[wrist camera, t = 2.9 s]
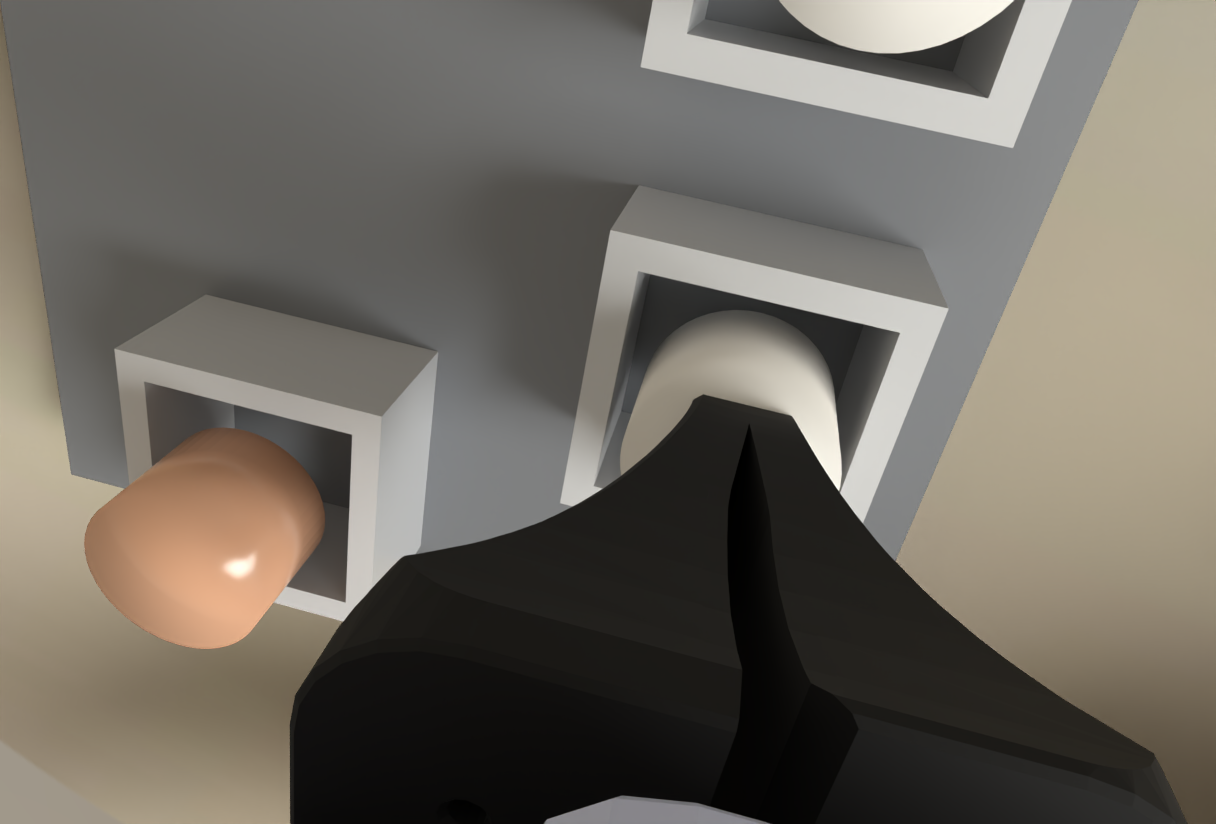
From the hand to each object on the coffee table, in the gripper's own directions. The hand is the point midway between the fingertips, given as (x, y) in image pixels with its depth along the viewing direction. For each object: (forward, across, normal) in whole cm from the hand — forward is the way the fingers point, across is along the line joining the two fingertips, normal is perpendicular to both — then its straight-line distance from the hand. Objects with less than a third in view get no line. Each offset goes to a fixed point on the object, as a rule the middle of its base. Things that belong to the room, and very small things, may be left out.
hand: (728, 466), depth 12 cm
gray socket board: (+6, +5, -2) cm, 8 cm away
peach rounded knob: (+1, +8, +4) cm, 9 cm away
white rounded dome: (+2, 0, 0) cm, 2 cm away
